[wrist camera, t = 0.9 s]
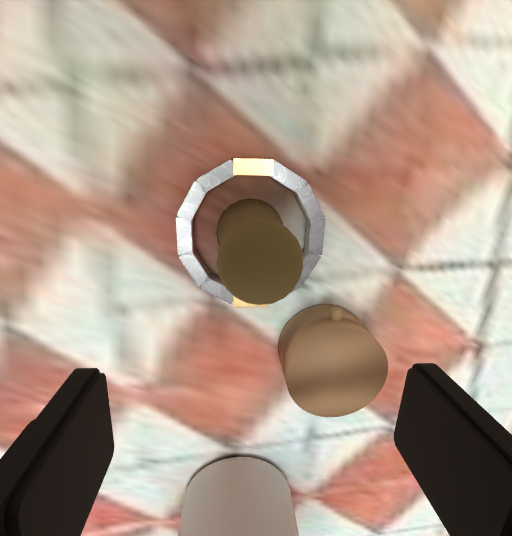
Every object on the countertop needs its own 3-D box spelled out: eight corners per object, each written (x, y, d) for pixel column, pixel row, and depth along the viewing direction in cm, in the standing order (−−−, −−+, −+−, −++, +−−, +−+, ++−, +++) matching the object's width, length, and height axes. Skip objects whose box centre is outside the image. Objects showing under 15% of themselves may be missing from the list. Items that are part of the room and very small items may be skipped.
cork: (229, 188, 26) (229, 200, 16) (294, 212, 27) (334, 238, 17) (207, 253, 28) (194, 303, 17) (269, 273, 29) (292, 332, 18)
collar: (175, 157, 25) (171, 156, 23) (324, 161, 26) (332, 160, 24) (183, 298, 29) (179, 308, 27) (313, 296, 30) (319, 306, 28)
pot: (280, 297, 30) (290, 321, 25) (370, 296, 30) (396, 319, 26) (275, 389, 33) (283, 426, 28) (357, 386, 33) (378, 421, 29)
